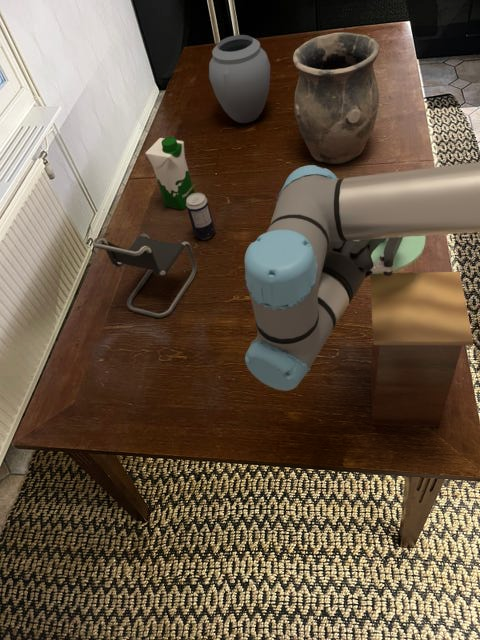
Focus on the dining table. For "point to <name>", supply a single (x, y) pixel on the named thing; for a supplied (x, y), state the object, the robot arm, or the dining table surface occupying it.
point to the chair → (148, 263)
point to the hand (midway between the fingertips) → (393, 187)
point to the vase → (240, 77)
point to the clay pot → (336, 95)
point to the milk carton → (171, 171)
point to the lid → (402, 251)
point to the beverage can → (200, 215)
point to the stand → (415, 345)
